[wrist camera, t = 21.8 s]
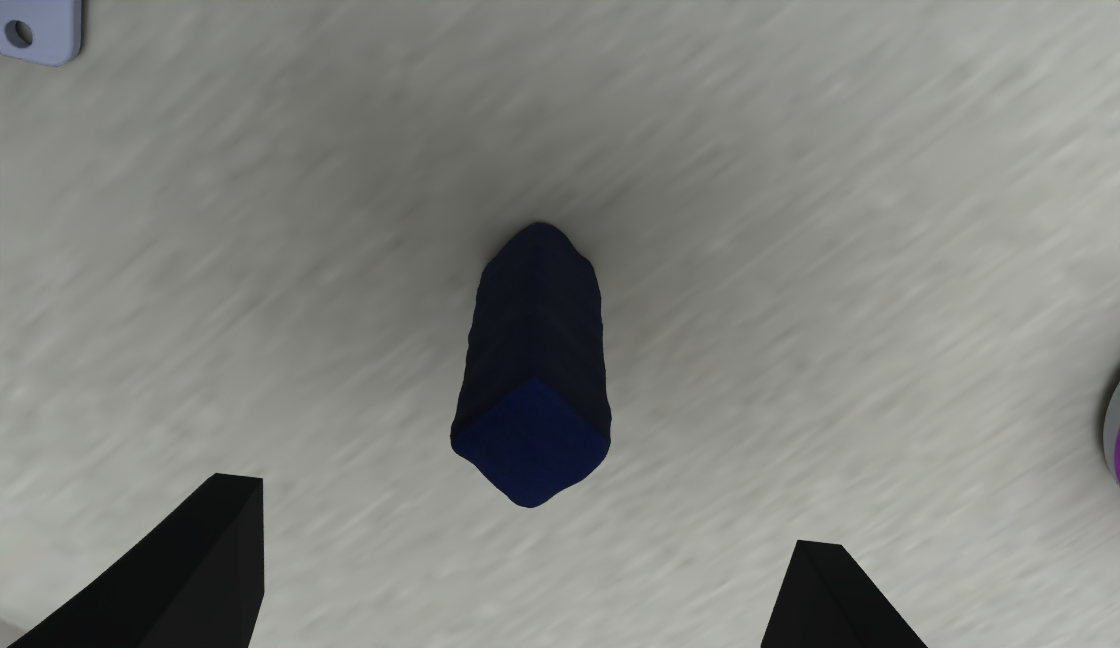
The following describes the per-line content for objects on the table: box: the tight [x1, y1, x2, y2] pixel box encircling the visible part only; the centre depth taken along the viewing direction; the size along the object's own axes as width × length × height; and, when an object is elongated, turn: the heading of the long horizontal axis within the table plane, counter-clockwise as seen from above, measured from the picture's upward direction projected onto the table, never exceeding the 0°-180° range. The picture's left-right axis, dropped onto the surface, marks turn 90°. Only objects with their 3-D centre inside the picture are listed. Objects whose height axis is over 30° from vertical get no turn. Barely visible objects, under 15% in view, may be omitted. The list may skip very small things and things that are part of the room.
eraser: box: [450, 223, 612, 508], centre depth 18 cm, size 2×2×7 cm
